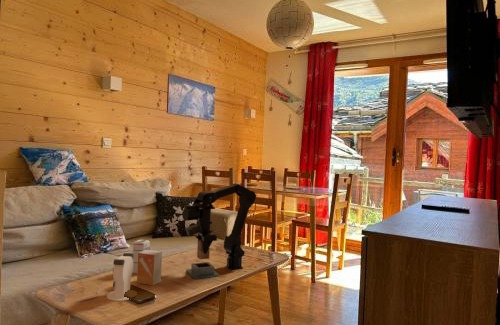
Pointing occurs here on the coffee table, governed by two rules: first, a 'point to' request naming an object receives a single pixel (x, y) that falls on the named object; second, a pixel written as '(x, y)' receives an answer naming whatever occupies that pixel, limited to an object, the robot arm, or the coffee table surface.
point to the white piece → (121, 277)
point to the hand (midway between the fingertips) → (203, 252)
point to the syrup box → (137, 248)
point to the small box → (149, 267)
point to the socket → (202, 270)
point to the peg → (200, 251)
